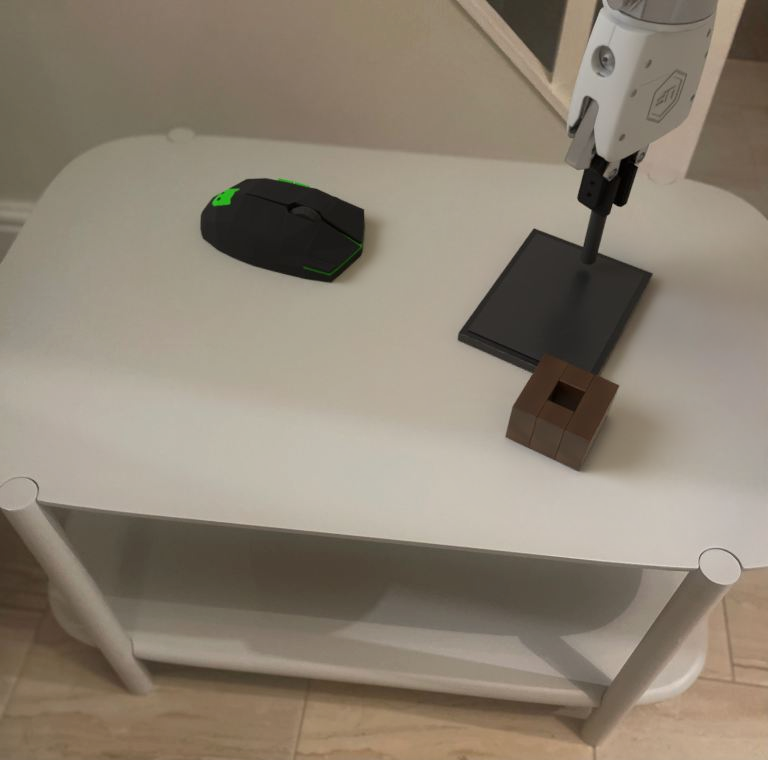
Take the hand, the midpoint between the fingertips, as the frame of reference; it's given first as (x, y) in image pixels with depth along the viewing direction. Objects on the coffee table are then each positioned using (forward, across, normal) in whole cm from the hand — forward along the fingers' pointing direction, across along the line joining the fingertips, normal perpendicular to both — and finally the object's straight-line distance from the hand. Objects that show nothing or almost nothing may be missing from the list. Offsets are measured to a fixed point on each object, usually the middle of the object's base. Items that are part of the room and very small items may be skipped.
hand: (601, 202), depth 67 cm
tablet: (+8, -5, -2) cm, 10 cm away
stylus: (+6, 0, 0) cm, 6 cm away
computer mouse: (+9, -18, +22) cm, 30 cm away
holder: (+8, -15, -10) cm, 20 cm away
